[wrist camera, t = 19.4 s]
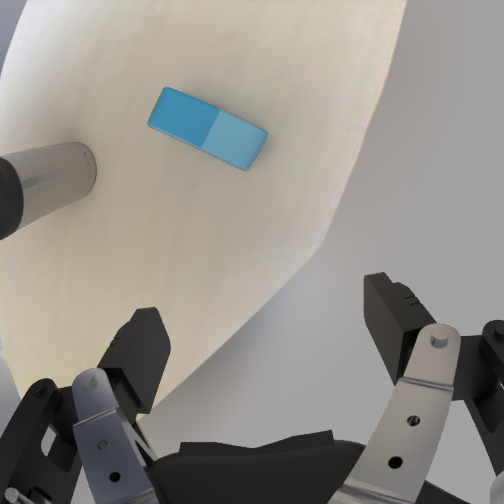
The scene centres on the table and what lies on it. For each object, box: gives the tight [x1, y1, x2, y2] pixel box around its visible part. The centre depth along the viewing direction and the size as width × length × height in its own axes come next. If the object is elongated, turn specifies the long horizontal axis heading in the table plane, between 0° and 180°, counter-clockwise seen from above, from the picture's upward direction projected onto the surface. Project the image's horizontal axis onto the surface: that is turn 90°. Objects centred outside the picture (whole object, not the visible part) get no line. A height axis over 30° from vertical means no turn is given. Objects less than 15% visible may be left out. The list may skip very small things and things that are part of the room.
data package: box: [147, 87, 268, 171], centre depth 33 cm, size 12×4×12 cm, turn 62°
